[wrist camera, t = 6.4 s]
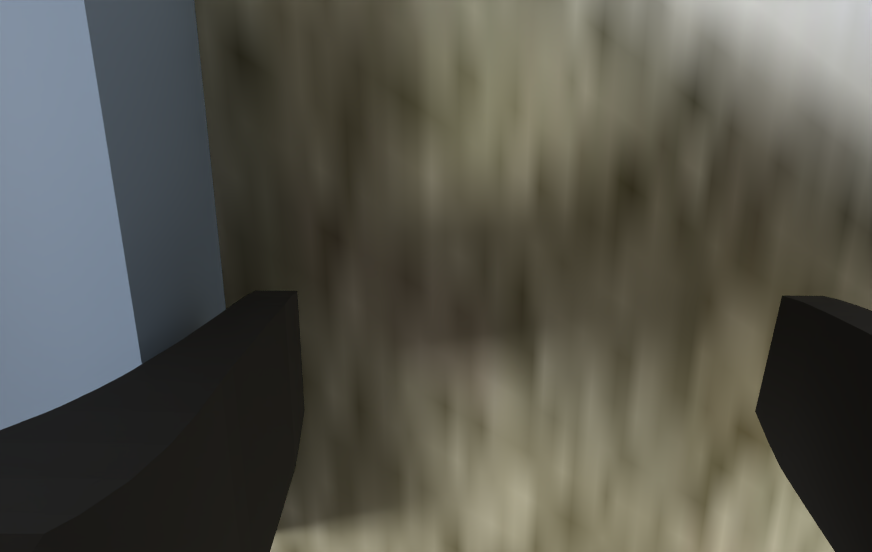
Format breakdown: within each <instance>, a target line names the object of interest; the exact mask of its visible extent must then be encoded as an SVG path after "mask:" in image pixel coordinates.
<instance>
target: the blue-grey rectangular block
mask: <svg viewBox="0 0 872 552" xmlns="http://www.w3.org/2000/svg"><path fill="white" fill-rule="evenodd" d="M224 310H226V306H225V296H224V286H223V276H222V267H221V257H220V247H219V237H218V228H217V218H216V208H215V198H214V188H213V179H212V169H211V159H210V149H209V140H208V130H207V120H206V110H205V101H204V91H203V81H202V71H201V62H200V52H199V42H198V32H197V23H196V13H195V3H194V0H0V430H2V429H4V428H7V427H10V426H12V425H15V424H17V423H20V422H22V421H25V420H28V419H30V418H33V417H35V416H38V415H41V414H43V413H46V412H48V411H51V410H53V409H55V408H57V407H60V406H62V405H64V404H66V403H68V402H71V401H73V400H75V399H77V398H79V397H81V396H83V395H85V394H87V393H89V392H92V391H94V390H96V389H98V388H100V387H102V386H104V385H106V384H108V383H109V382H111V381H113V380H115V379H117V378H119V377H121V376H123V375H124V374H126V373H128V372H130V371H131V370H133V369H135V368H136V367H138V366H140V365H141V364H143V363H145V362H146V361H148V360H150V359H151V358H153V357H154V356H156V355H158V354H159V353H161V352H163V351H164V350H166V349H168V348H169V347H171V346H173V345H174V344H176V343H178V342H179V341H181V340H182V339H184V338H185V337H187V336H188V335H189V334H191V333H192V332H194V331H195V330H197V329H198V328H200V327H201V326H203V325H204V324H206V323H207V322H209V321H210V320H211V319H213V318H214V317H216V316H217V315H219V314H220V313H222V312H223V311H224Z"/></svg>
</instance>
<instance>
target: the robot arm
mask: <svg viewBox="0 0 872 552" xmlns="http://www.w3.org/2000/svg"><path fill="white" fill-rule="evenodd" d="M755 412H756V414H757V417H758V419H759V421H760V424H761V426H762V428H763V431H764V433H765V435H766V438H767V440H768V442H769V444H770V447H771V449H772V451H773V453H774V455H775V457H776V459H777V461H778V463H779V465H780V467H781V469H782V470H783V472H784V474H785V475H786V477H787V479H788V480H789V482H790V483H791V485H792V486H793V488H794V490H795V491H796V493H797V494H798V496H799V497H800V499H801V500H802V502H803V504H804V505H805V507H806V508H807V510H808V511H809V513H810V514H811V516H812V517H813V519H814V520H815V522H816V523H817V525H818V526H819V528H820V530H821V531H822V533H823V534H824V536H825V537H826V539H827V540H828V542H829V543H830V545H831V546H832V548H833V549H834V551H835V552H872V311H871V310H868V309H865V308H862V307H860V306H857V305H854V304H851V303H848V302H844V301H841V300H837V299H833V298H829V297H825V296H782V299H781V303H780V307H779V312H778V316H777V320H776V325H775V329H774V333H773V337H772V342H771V346H770V350H769V355H768V359H767V363H766V368H765V372H764V376H763V380H762V385H761V389H760V393H759V398H758V402H757V406H756V410H755ZM303 415H304V394H303V378H302V361H301V345H300V328H299V311H298V295H297V291H254V292H252V293H250V294H248V295H247V296H245V297H243V298H242V299H240V300H239V301H237V302H236V303H235V304H233V305H232V306H230V307H229V308H227V309H226V310H224V311H223V312H222V313H220V314H219V315H217V316H216V317H214V318H213V319H211V320H210V321H209V322H207V323H206V324H204V325H203V326H201V327H200V328H198V329H197V330H195V331H194V332H192V333H191V334H189V335H188V336H187V337H185V338H184V339H182V340H181V341H179V342H178V343H176V344H174V345H173V346H171V347H169V348H168V349H166V350H164V351H163V352H161V353H159V354H158V355H156V356H154V357H153V358H151V359H150V360H148V361H146V362H145V363H143V364H141V365H140V366H138V367H136V368H135V369H133V370H131V371H130V372H128V373H126V374H124V375H123V376H121V377H119V378H117V379H115V380H113V381H111V382H109V383H108V384H106V385H104V386H102V387H100V388H98V389H96V390H94V391H92V392H89V393H87V394H85V395H83V396H81V397H79V398H77V399H75V400H73V401H71V402H68V403H66V404H64V405H62V406H60V407H57V408H55V409H53V410H51V411H48V412H46V413H43V414H41V415H38V416H35V417H33V418H30V419H28V420H25V421H22V422H20V423H17V424H15V425H12V426H10V427H7V428H4V429H2V430H0V552H270V549H271V546H272V543H273V540H274V536H275V533H276V530H277V526H278V523H279V520H280V517H281V513H282V510H283V507H284V503H285V500H286V497H287V493H288V490H289V486H290V483H291V480H292V476H293V473H294V469H295V466H296V460H297V454H298V448H299V442H300V435H301V429H302V422H303Z"/></svg>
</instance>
